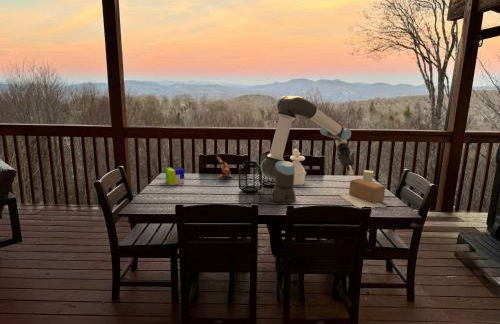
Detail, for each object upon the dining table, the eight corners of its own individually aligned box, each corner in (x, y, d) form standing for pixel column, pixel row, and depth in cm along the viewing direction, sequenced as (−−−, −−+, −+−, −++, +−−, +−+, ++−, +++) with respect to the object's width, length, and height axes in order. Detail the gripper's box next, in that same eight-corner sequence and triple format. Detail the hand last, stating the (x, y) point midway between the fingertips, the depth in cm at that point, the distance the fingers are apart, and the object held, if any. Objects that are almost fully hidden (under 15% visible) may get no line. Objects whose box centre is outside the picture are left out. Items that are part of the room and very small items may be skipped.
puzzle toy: (184, 183, 236) (184, 169, 233) (171, 185, 230) (170, 171, 228) (179, 179, 244) (178, 166, 241) (165, 181, 238) (165, 168, 236)
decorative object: (282, 181, 247) (283, 148, 242) (297, 179, 253) (299, 147, 248) (294, 186, 234) (296, 152, 228) (309, 184, 240) (311, 150, 234)
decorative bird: (208, 168, 264) (216, 151, 262) (229, 177, 268) (237, 160, 265) (208, 178, 237) (216, 159, 234) (231, 187, 240) (240, 168, 238)
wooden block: (348, 194, 217) (373, 203, 201) (349, 180, 215) (375, 188, 199) (358, 192, 223) (384, 201, 206) (359, 178, 221) (385, 185, 204)
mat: (340, 196, 215) (340, 195, 215) (365, 195, 219) (365, 194, 219) (358, 208, 193) (358, 207, 193) (385, 207, 197) (386, 206, 197)
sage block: (361, 191, 227) (363, 171, 223) (362, 189, 232) (364, 169, 229) (370, 192, 224) (373, 172, 221) (371, 190, 230) (373, 170, 227)
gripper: (348, 148, 236) (358, 177, 224) (331, 148, 233) (340, 177, 221) (352, 142, 230) (363, 171, 218) (335, 142, 227) (345, 172, 215)
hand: (351, 174), depth 219 cm, fingers closed
